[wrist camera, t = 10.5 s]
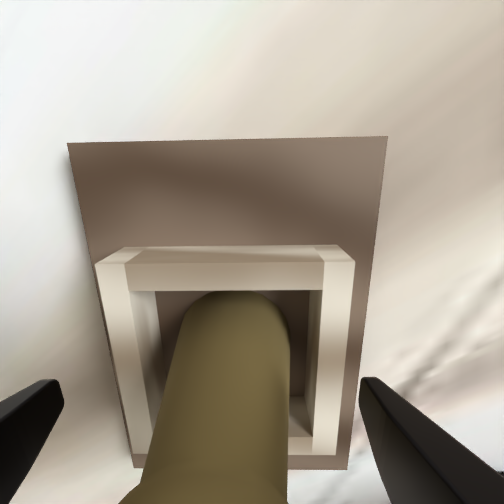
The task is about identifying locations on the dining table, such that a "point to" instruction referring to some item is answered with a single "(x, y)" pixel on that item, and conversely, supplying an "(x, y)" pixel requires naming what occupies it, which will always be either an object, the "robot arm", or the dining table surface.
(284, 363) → the olive green rounded peg
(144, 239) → the socket board
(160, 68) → the dining table surface
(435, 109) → the dining table surface
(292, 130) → the dining table surface
